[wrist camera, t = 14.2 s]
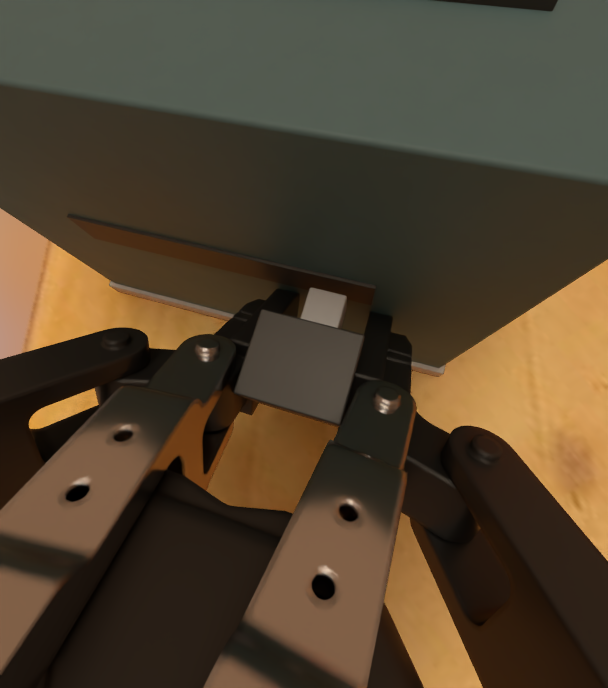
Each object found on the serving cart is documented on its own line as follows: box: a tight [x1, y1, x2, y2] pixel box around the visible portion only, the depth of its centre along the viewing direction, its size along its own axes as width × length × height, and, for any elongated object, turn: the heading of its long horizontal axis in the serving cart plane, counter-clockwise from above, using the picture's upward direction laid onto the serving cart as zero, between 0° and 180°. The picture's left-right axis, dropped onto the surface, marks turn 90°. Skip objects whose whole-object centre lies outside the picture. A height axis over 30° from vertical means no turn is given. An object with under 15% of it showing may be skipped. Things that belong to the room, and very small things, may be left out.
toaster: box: [0, 0, 608, 377], centre depth 12 cm, size 10×16×12 cm, turn 73°
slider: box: [233, 288, 365, 427], centre depth 9 cm, size 3×2×3 cm
